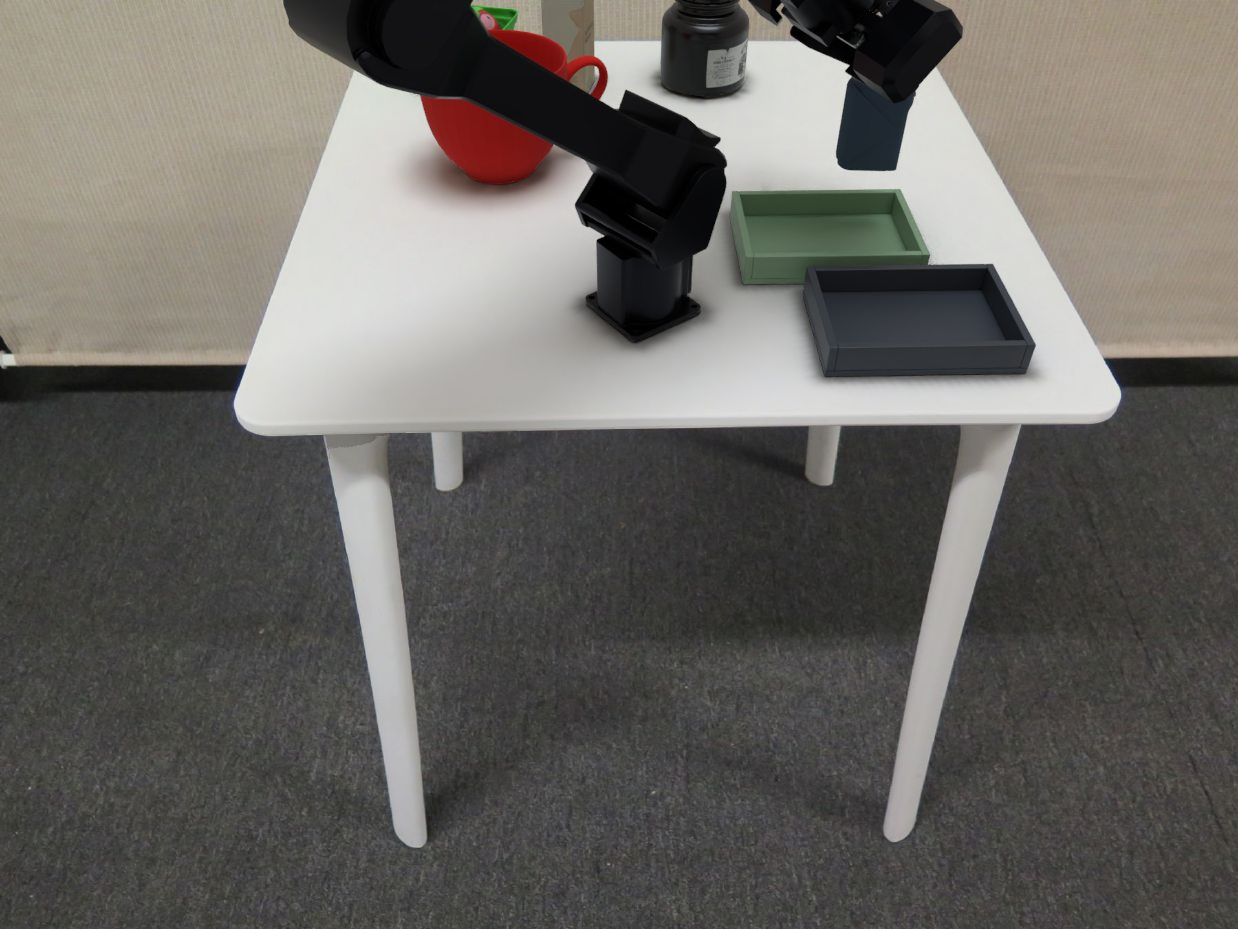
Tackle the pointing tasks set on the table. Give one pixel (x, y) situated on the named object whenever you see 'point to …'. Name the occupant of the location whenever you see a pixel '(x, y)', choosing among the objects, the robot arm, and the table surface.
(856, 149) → the vaping device
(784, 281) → the sage tray
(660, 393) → the table surface
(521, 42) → the ceramic cup
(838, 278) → the charcoal tray
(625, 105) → the robot arm
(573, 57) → the box
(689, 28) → the ink bottle
